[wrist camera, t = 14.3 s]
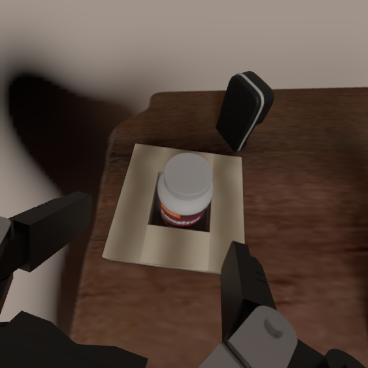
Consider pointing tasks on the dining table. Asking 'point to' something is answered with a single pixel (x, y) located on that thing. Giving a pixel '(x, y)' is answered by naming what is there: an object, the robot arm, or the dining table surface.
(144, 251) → the socket block
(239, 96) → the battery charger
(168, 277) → the dining table surface
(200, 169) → the pill bottle
